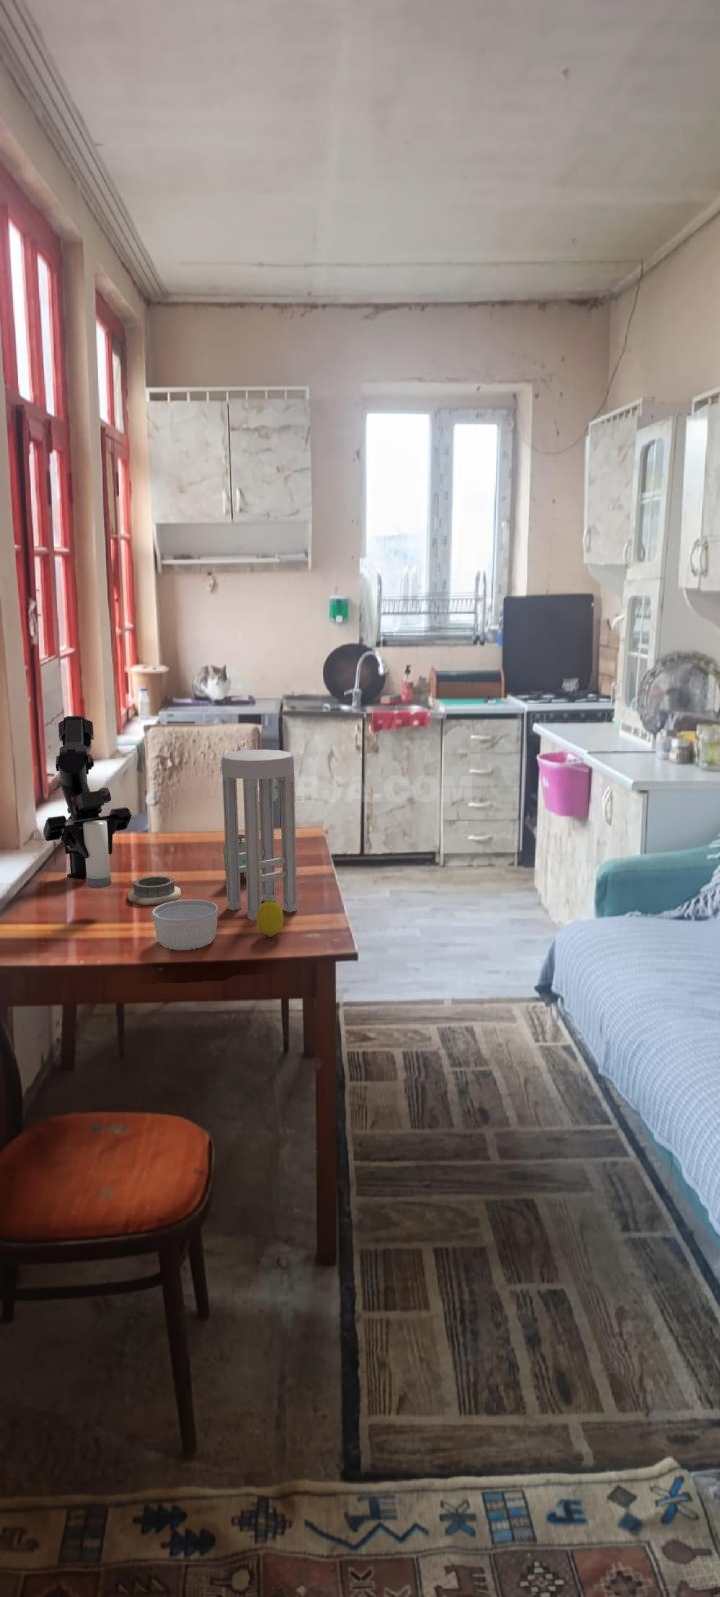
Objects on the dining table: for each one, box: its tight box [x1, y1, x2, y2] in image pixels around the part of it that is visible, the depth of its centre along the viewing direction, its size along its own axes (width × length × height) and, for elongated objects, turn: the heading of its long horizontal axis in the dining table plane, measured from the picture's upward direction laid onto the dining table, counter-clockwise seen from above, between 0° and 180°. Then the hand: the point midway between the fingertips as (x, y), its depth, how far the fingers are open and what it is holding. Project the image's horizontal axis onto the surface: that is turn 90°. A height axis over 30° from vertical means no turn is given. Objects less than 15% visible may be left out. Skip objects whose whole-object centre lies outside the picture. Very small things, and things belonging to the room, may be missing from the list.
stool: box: [220, 749, 298, 921], centre depth 218 cm, size 16×16×35 cm
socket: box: [127, 875, 182, 906], centre depth 231 cm, size 12×12×4 cm
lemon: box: [255, 900, 285, 938], centre depth 202 cm, size 6×6×8 cm
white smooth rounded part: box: [83, 820, 112, 889], centre depth 218 cm, size 5×5×14 cm
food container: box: [222, 833, 246, 885], centre depth 244 cm, size 12×6×10 cm, turn 168°
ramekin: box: [151, 899, 219, 951], centre depth 201 cm, size 13×13×7 cm
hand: (99, 855), depth 217 cm, fingers closed on white smooth rounded part, 5 cm apart
